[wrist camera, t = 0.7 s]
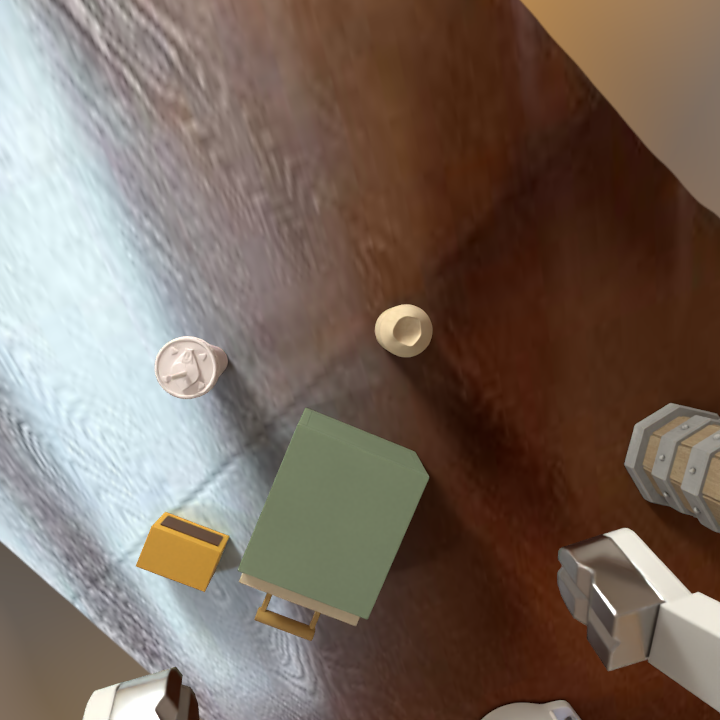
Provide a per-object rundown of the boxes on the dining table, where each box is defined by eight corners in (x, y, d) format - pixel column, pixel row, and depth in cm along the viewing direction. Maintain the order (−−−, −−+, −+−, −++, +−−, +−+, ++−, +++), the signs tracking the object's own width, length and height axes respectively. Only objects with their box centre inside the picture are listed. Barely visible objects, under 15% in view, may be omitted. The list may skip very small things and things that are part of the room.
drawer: (337, 625, 59) (336, 671, 52) (236, 587, 59) (219, 628, 51) (403, 473, 58) (412, 496, 50) (300, 432, 57) (293, 449, 49)
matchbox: (230, 535, 59) (221, 551, 55) (214, 574, 59) (204, 593, 55) (165, 510, 58) (152, 524, 54) (149, 550, 59) (135, 567, 55)
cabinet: (363, 571, 60) (367, 620, 50) (254, 530, 59) (237, 570, 49) (415, 451, 59) (429, 477, 49) (305, 407, 58) (297, 424, 48)
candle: (421, 350, 58) (437, 355, 48) (376, 354, 58) (383, 360, 48) (417, 305, 58) (433, 301, 48) (372, 309, 57) (378, 306, 47)
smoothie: (181, 381, 57) (129, 400, 43) (190, 329, 57) (140, 331, 43) (234, 391, 58) (198, 412, 44) (243, 340, 57) (210, 345, 43)
